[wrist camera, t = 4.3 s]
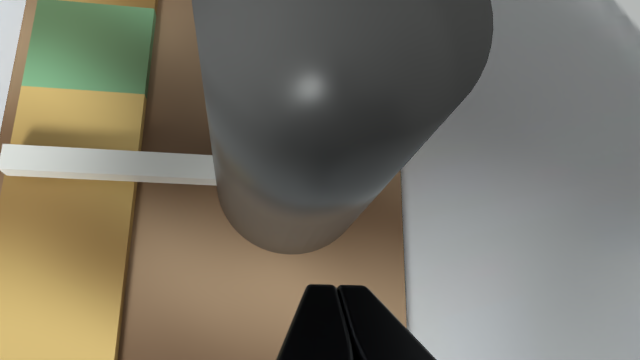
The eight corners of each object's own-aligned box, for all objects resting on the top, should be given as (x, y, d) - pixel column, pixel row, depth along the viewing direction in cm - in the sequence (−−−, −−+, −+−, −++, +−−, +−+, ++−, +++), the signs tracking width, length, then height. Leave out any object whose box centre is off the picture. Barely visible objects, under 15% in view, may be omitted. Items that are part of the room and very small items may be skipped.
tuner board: (400, 428, 16) (415, 435, 15) (-41, 433, 14) (-70, 442, 13) (386, 15, 20) (396, -8, 19) (43, -16, 19) (29, -44, 17)
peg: (364, 256, 16) (507, 150, 7) (0, 245, 15) (-329, 101, 6) (359, 3, 19) (461, -290, 10) (50, -26, 17) (-132, -392, 9)
